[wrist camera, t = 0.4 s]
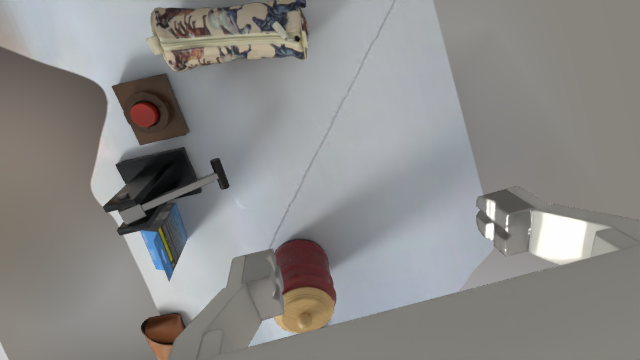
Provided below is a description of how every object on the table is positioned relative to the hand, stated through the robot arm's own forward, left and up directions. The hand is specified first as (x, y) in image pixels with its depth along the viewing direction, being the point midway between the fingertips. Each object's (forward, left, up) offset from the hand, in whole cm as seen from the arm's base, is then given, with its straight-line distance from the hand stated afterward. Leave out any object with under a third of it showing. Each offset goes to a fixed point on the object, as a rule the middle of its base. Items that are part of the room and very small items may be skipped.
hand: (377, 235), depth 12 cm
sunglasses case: (+52, -43, -46) cm, 82 cm away
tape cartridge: (+20, -31, -46) cm, 59 cm away
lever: (+10, -24, -37) cm, 45 cm away
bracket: (+10, -29, -46) cm, 55 cm away
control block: (-2, -25, -46) cm, 52 cm away
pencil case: (-10, -8, -46) cm, 48 cm away
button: (-2, -25, -42) cm, 49 cm away
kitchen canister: (+37, -9, -46) cm, 60 cm away
